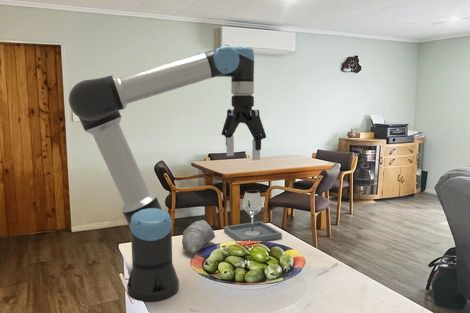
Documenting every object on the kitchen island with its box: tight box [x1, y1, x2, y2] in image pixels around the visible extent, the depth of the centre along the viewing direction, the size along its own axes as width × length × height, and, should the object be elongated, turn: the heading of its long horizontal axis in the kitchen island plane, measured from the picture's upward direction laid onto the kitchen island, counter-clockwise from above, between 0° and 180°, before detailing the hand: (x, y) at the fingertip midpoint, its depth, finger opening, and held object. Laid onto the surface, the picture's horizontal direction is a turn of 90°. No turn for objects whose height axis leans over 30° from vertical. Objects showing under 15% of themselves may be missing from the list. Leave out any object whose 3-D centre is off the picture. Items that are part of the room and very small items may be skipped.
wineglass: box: [242, 189, 263, 236], centre depth 164 cm, size 8×8×18 cm
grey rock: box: [181, 219, 216, 255], centre depth 150 cm, size 16×15×10 cm
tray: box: [223, 220, 283, 242], centre depth 165 cm, size 18×18×2 cm
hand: (242, 157), depth 135 cm, fingers open, 13 cm apart
